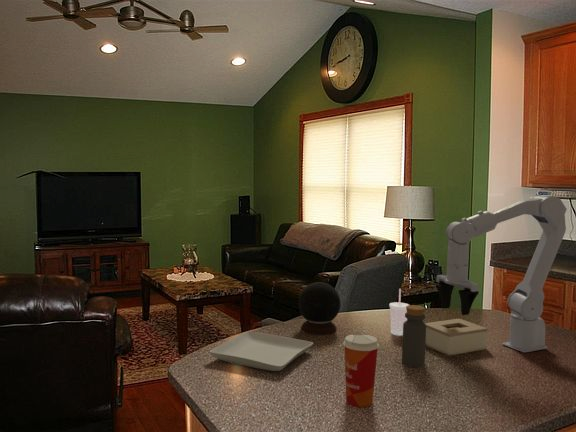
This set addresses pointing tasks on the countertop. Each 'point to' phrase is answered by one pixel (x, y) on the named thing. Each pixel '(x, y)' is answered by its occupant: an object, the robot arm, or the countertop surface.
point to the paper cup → (360, 369)
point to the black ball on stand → (319, 308)
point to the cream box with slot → (455, 336)
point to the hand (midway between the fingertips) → (455, 311)
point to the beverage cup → (397, 316)
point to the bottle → (414, 337)
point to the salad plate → (261, 350)
